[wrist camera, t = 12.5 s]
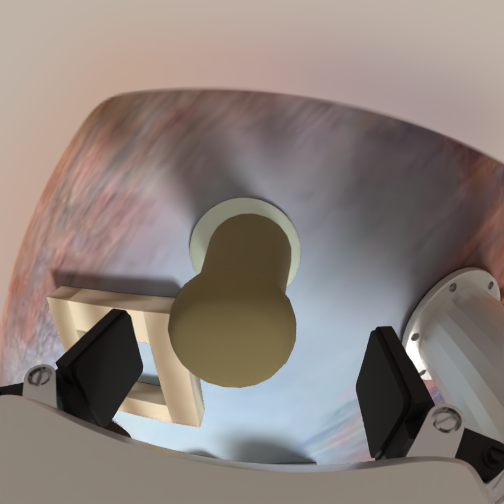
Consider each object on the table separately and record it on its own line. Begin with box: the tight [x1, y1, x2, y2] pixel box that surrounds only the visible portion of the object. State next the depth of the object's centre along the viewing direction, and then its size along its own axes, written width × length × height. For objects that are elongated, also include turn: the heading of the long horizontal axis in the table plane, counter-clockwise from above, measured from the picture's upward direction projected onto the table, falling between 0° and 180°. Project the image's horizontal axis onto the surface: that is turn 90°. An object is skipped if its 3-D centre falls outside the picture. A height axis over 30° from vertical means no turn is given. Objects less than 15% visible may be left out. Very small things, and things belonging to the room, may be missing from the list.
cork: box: [168, 213, 296, 388], centre depth 14 cm, size 6×6×11 cm
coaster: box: [190, 198, 301, 288], centre depth 20 cm, size 8×8×1 cm
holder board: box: [47, 286, 205, 427], centre depth 23 cm, size 14×14×3 cm
